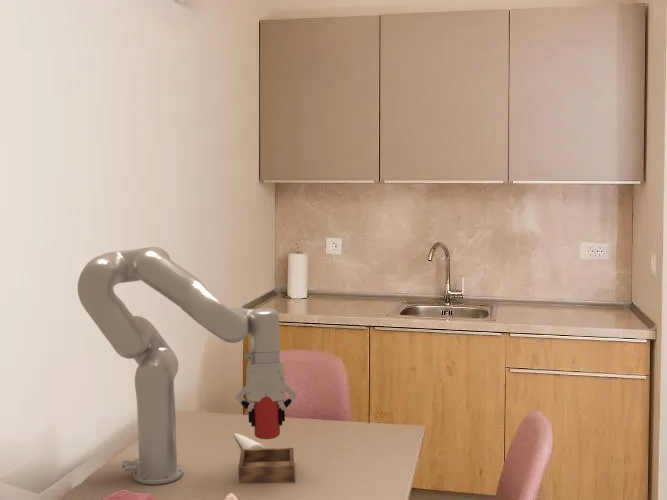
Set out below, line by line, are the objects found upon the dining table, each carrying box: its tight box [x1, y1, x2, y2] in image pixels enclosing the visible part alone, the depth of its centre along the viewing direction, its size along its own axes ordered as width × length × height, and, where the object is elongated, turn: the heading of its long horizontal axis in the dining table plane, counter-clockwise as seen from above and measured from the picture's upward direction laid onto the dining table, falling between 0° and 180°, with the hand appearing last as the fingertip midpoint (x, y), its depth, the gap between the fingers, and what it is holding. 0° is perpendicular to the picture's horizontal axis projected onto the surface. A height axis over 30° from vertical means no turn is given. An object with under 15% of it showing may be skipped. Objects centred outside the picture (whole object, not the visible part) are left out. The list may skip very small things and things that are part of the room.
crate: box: [238, 447, 295, 484], centre depth 207 cm, size 14×14×4 cm
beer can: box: [253, 396, 281, 440], centre depth 205 cm, size 7×7×12 cm
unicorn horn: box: [233, 432, 265, 449], centre depth 227 cm, size 5×24×5 cm, turn 18°
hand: (267, 424), depth 206 cm, fingers closed on beer can, 6 cm apart
